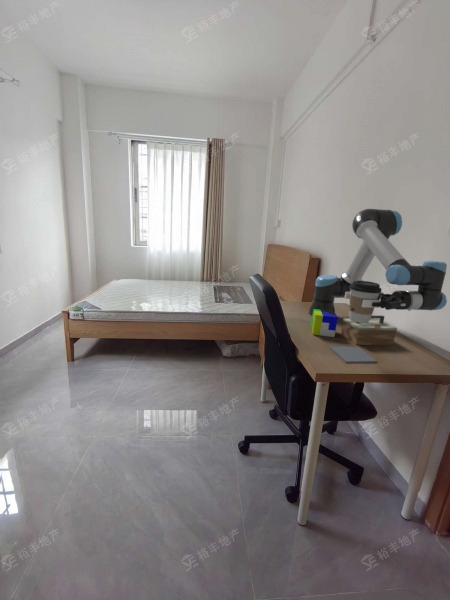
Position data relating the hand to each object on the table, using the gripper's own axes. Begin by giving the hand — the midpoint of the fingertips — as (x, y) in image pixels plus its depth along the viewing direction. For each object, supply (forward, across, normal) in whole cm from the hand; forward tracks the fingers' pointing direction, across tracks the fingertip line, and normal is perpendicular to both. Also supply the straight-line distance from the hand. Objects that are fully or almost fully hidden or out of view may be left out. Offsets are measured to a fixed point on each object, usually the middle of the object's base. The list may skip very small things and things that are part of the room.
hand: (353, 299), depth 106 cm
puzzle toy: (-3, +25, -24) cm, 35 cm away
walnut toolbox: (-21, +16, -24) cm, 36 cm away
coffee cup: (-4, 0, -9) cm, 10 cm away
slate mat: (-4, 0, -24) cm, 24 cm away
